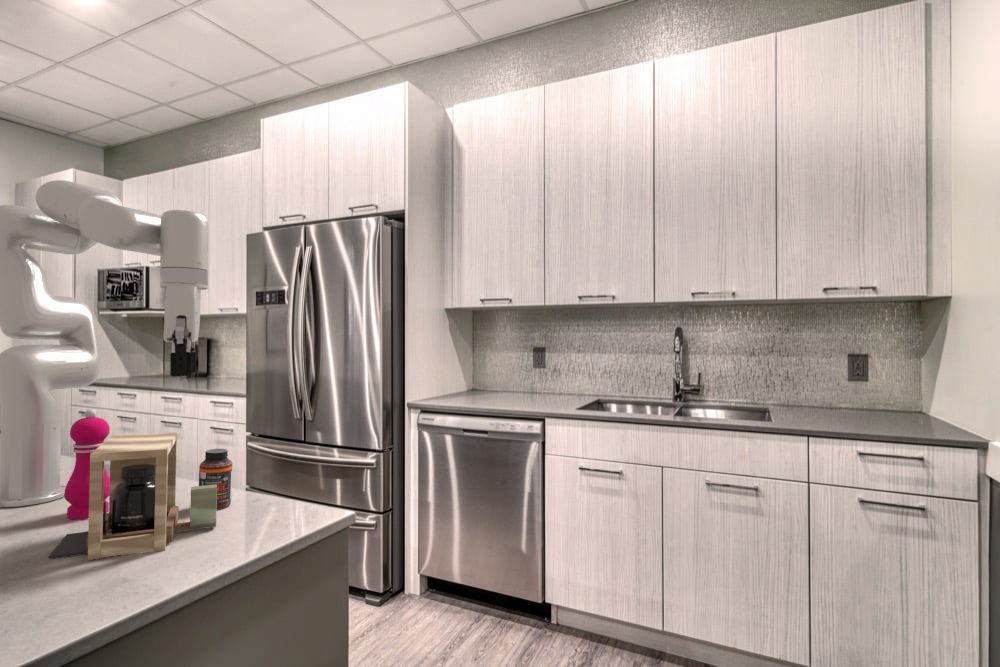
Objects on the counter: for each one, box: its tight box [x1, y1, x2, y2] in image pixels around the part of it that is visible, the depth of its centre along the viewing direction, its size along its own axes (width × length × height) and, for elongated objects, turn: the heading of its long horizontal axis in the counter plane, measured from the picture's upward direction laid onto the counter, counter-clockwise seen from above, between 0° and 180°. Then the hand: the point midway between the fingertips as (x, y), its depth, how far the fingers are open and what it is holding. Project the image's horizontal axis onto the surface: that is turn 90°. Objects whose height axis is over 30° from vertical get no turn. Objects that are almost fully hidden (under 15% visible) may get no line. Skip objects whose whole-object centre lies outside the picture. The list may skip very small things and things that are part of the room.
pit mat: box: [47, 531, 88, 559], centre depth 87 cm, size 10×5×1 cm, turn 26°
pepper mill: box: [63, 408, 111, 520], centre depth 102 cm, size 7×7×20 cm
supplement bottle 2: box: [198, 448, 233, 510], centre depth 108 cm, size 6×6×11 cm
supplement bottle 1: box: [110, 464, 155, 534], centre depth 91 cm, size 7×7×12 cm
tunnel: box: [87, 431, 178, 561], centre depth 91 cm, size 16×10×16 cm, turn 26°
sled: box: [86, 484, 217, 553], centre depth 92 cm, size 11×18×7 cm, turn 116°
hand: (183, 374), depth 97 cm, fingers open, 9 cm apart
